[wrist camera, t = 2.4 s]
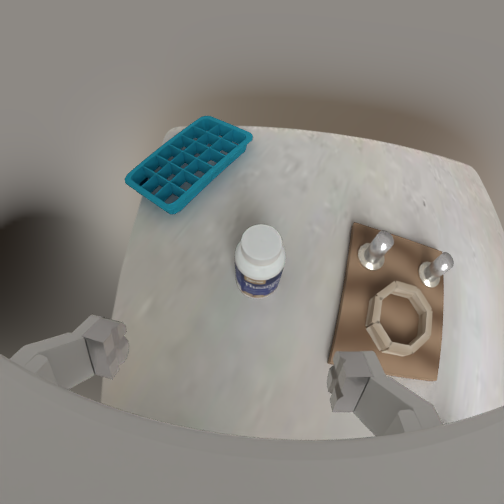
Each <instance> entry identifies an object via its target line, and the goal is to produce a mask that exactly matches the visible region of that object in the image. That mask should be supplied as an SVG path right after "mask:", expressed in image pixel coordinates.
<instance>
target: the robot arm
mask: <svg viewBox="0 0 504 504" xmlns="http://www.w3.org/2000/svg"><path fill="white" fill-rule="evenodd" d="M126 332H127V331H126V325H125V324H124V323H123V322H119V321H115V320H112V319H108V318H104V317H100V316H96V315H91V316H89V317H88V318H87V319H86V320H85V321H84V322H83V323H82V324H81V325H80V326H79V327H78V328H77V329H76V330H74V331H73V332H72V333H65V334H62V335H59V336H55V337H52V338H49V339H45V340H42V341H39V342H35V343H32V344H28V345H25V346H23V347H22V348H21V349H20V350H19V351H18V352H17V353H15V354H14V355H13V356H12V357H11V358H10V359H8V358H6V357H4V356H3V355H1V354H0V504H504V406H501V407H499V408H496V409H494V410H491V411H488V412H485V413H482V414H479V415H476V416H473V417H470V418H466V419H463V420H459V421H456V422H452V423H448V424H444V425H443V424H442V422H441V420H440V418H439V416H438V414H437V412H436V410H435V408H434V406H433V405H432V404H431V403H429V402H427V401H426V400H424V399H423V398H421V397H420V396H418V395H417V394H415V393H414V392H412V391H411V390H409V389H408V388H406V387H405V386H403V385H402V384H400V383H399V382H397V381H396V380H394V379H393V378H391V377H386V375H385V373H384V371H383V368H382V366H381V364H380V362H379V360H378V358H377V356H376V354H375V352H374V351H336V352H335V354H334V357H333V362H334V365H333V366H332V367H331V368H330V370H329V373H328V378H327V388H328V392H330V393H331V394H332V395H331V398H330V403H331V408H332V412H354V414H355V415H356V416H357V417H358V418H359V419H360V420H361V422H362V423H363V424H364V425H365V426H366V427H367V428H368V429H369V430H370V431H371V432H372V433H373V434H374V435H375V437H365V438H353V439H336V440H287V439H269V438H256V437H246V436H238V435H230V434H223V433H216V432H210V431H204V430H198V429H193V428H188V427H183V426H179V425H174V424H170V423H166V422H162V421H158V420H154V419H150V418H146V417H143V416H139V415H136V414H133V413H129V412H126V411H123V410H120V409H117V408H114V407H111V406H108V405H105V404H102V403H100V402H97V401H94V400H92V399H89V398H87V397H84V396H82V395H79V394H77V393H75V392H72V391H70V390H68V389H70V388H72V387H74V386H76V385H77V384H79V383H81V382H83V381H85V380H87V379H89V378H90V377H92V376H94V375H95V374H96V375H99V376H102V377H106V378H109V379H113V378H114V377H115V375H116V374H117V372H118V371H119V364H122V363H124V362H125V360H126V359H127V356H128V353H129V343H128V340H127V339H126V337H125V336H124V335H125V334H126Z"/></svg>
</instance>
